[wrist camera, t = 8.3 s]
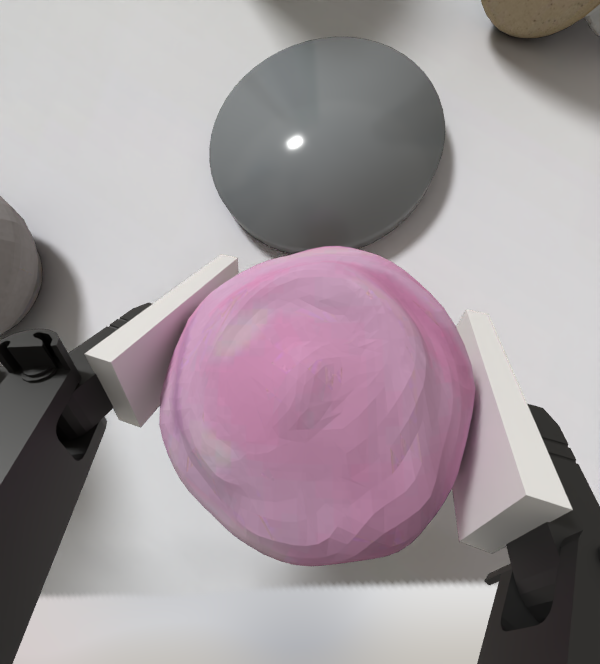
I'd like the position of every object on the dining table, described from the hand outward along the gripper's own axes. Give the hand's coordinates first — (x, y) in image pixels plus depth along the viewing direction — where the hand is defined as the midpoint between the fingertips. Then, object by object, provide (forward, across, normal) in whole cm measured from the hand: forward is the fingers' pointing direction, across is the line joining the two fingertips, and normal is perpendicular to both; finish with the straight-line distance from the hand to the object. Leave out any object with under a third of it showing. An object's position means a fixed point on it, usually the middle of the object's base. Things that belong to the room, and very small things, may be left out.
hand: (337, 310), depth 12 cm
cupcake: (+1, 0, -5) cm, 5 cm away
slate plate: (+11, -4, +4) cm, 12 cm away
